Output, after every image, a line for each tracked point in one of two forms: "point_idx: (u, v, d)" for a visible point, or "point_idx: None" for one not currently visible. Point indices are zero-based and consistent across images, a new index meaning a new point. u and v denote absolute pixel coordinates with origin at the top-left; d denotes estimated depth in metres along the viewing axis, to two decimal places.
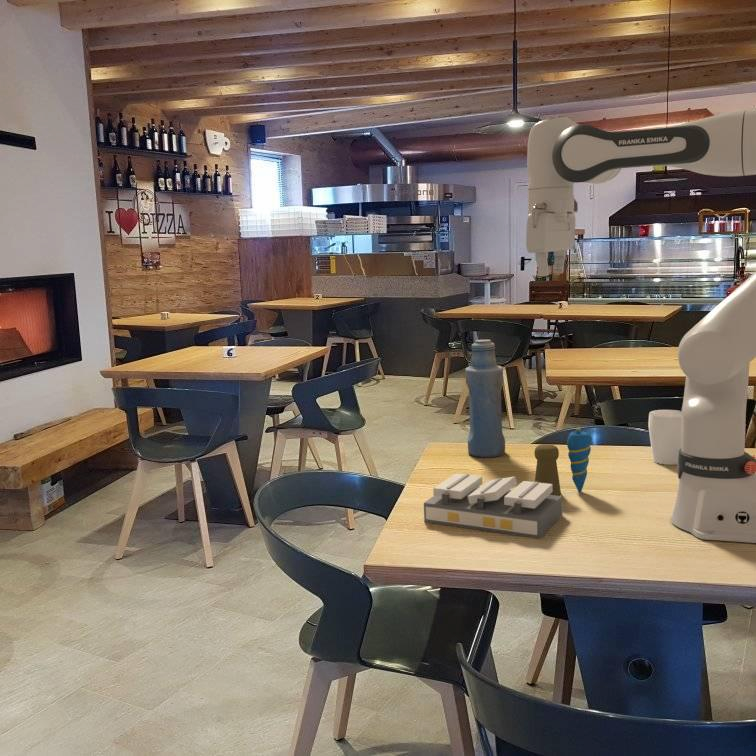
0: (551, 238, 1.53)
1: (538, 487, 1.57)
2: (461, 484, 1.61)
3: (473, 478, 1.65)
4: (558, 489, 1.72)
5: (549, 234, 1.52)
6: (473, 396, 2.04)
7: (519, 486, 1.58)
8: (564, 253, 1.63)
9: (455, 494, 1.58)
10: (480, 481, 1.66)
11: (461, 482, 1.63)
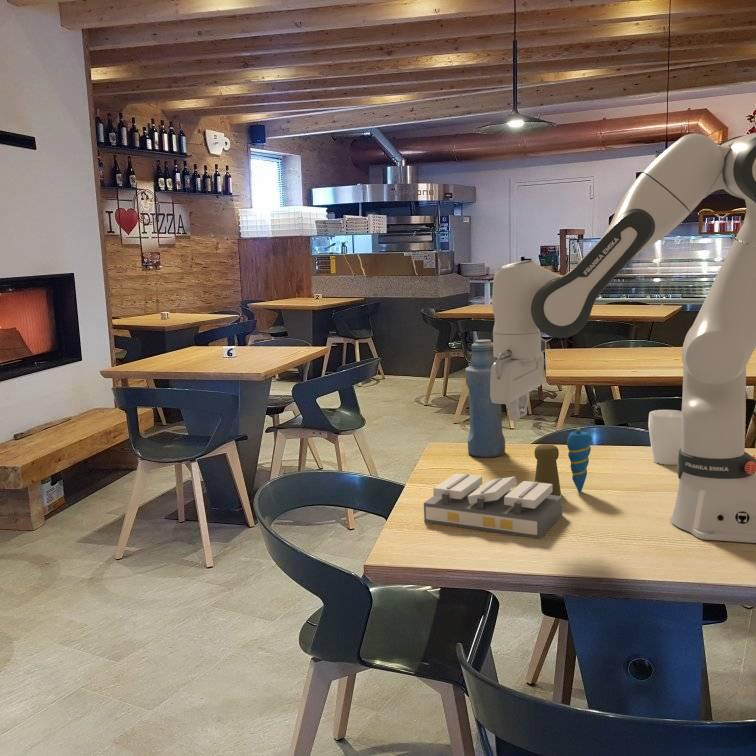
0: (516, 387, 1.48)
1: (538, 487, 1.57)
2: (461, 484, 1.61)
3: (473, 478, 1.65)
4: (558, 489, 1.72)
5: (514, 383, 1.46)
6: (473, 396, 2.04)
7: (519, 486, 1.58)
8: (527, 395, 1.56)
9: (455, 494, 1.58)
10: (480, 481, 1.66)
11: (461, 482, 1.63)
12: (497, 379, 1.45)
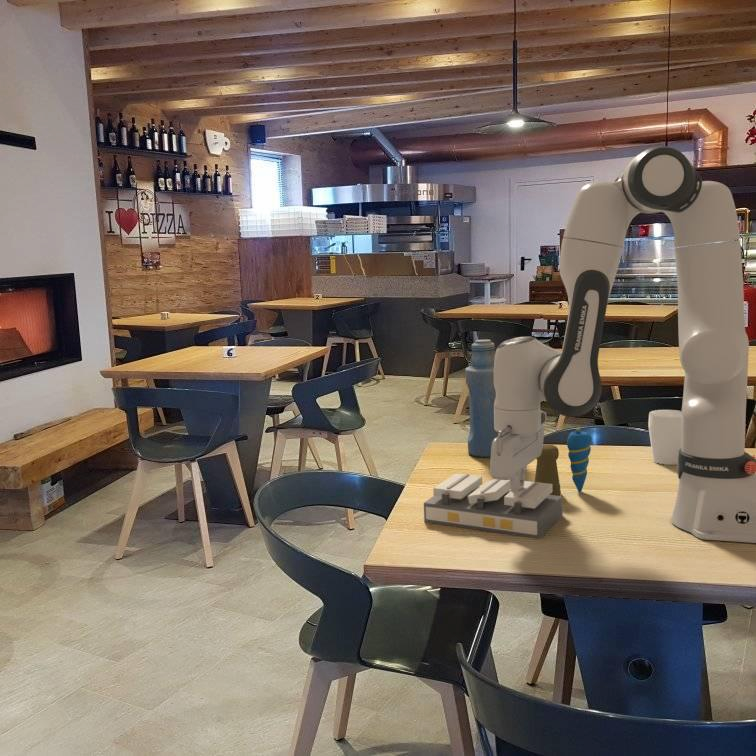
0: (516, 462, 1.50)
1: (538, 487, 1.57)
2: (461, 484, 1.61)
3: (473, 478, 1.65)
4: (558, 489, 1.72)
5: (513, 459, 1.49)
6: (473, 396, 2.04)
7: None
8: (525, 468, 1.57)
9: (455, 494, 1.58)
10: (480, 481, 1.66)
11: (461, 482, 1.63)
12: (497, 456, 1.47)
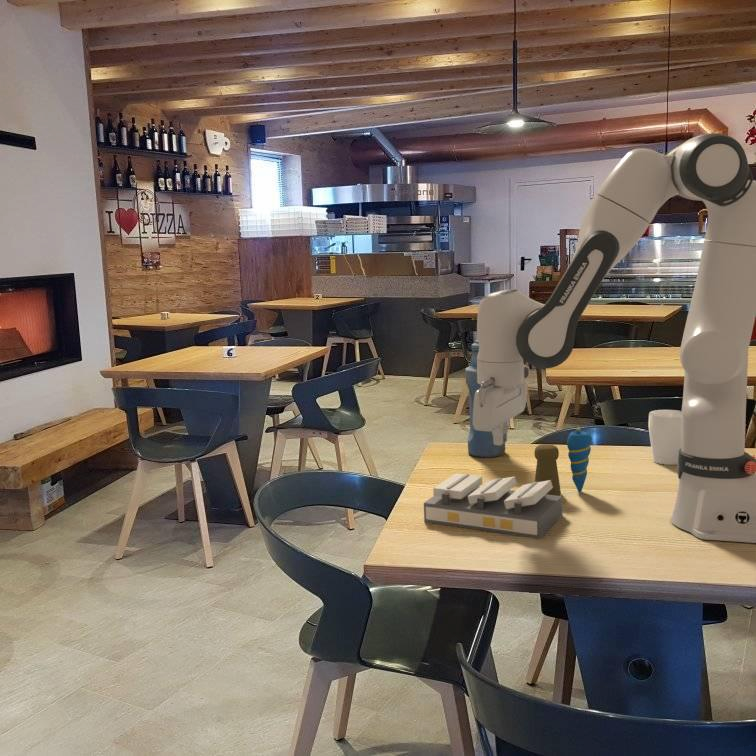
0: (499, 414, 1.50)
1: (537, 485, 1.57)
2: (461, 484, 1.61)
3: (473, 478, 1.65)
4: (558, 489, 1.72)
5: (496, 411, 1.49)
6: (473, 396, 2.04)
7: (518, 489, 1.59)
8: (508, 422, 1.57)
9: (455, 494, 1.58)
10: (480, 481, 1.66)
11: (461, 482, 1.63)
12: (480, 407, 1.47)
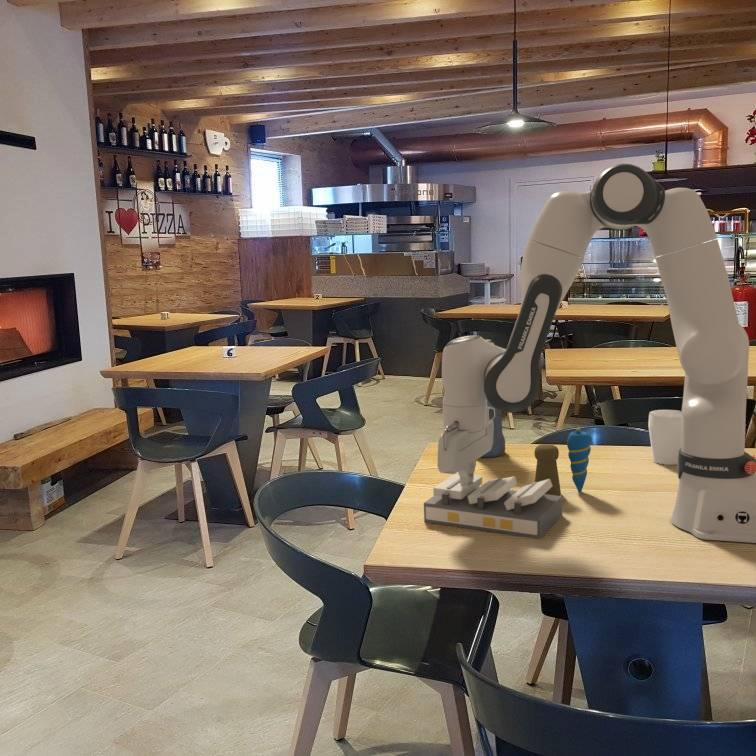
0: (463, 456, 1.56)
1: (537, 485, 1.57)
2: None
3: None
4: (558, 489, 1.72)
5: (460, 454, 1.54)
6: None
7: (519, 491, 1.59)
8: (474, 462, 1.63)
9: (455, 494, 1.58)
10: (480, 481, 1.66)
11: None
12: (444, 451, 1.52)
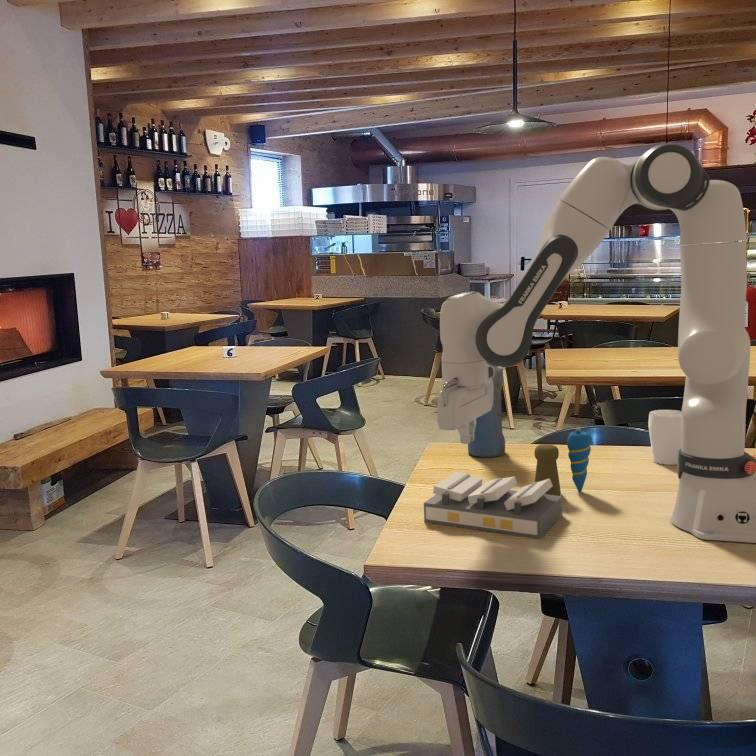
0: (463, 413, 1.54)
1: (536, 485, 1.57)
2: (462, 485, 1.61)
3: (474, 480, 1.65)
4: (558, 489, 1.72)
5: (460, 410, 1.53)
6: None
7: (519, 491, 1.59)
8: (474, 421, 1.61)
9: (455, 496, 1.58)
10: (480, 483, 1.66)
11: (462, 483, 1.63)
12: (443, 406, 1.51)
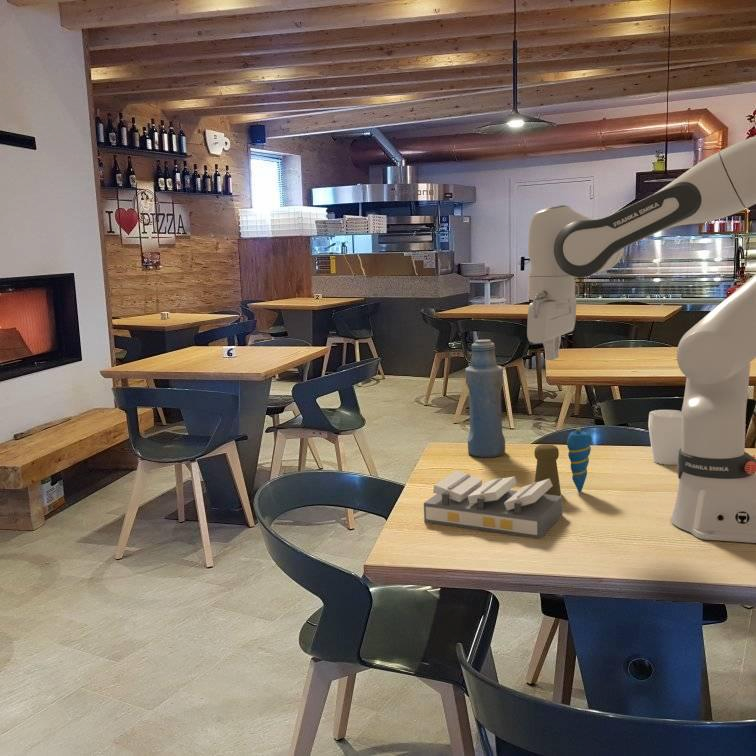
0: (552, 327, 1.54)
1: (536, 485, 1.57)
2: (462, 485, 1.61)
3: (474, 480, 1.65)
4: (558, 489, 1.72)
5: (550, 323, 1.52)
6: (473, 396, 2.04)
7: (519, 491, 1.59)
8: (559, 338, 1.61)
9: (455, 496, 1.58)
10: (480, 484, 1.66)
11: (462, 483, 1.63)
12: (534, 318, 1.51)
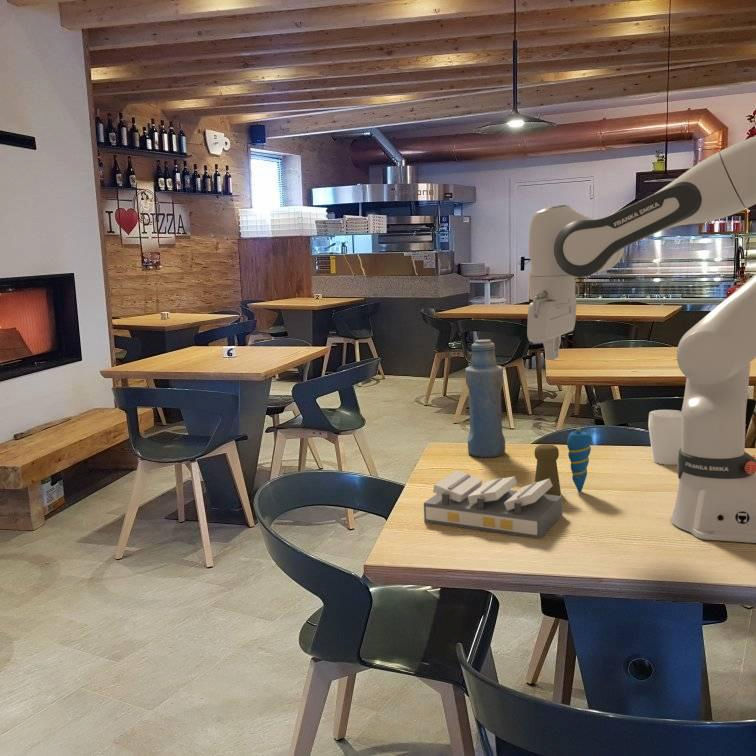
0: (552, 326, 1.54)
1: (536, 484, 1.57)
2: (462, 486, 1.61)
3: (474, 480, 1.65)
4: (558, 489, 1.72)
5: (550, 323, 1.52)
6: (473, 396, 2.04)
7: (519, 491, 1.59)
8: (559, 338, 1.61)
9: (455, 496, 1.58)
10: (480, 484, 1.66)
11: (462, 483, 1.63)
12: (534, 318, 1.51)
